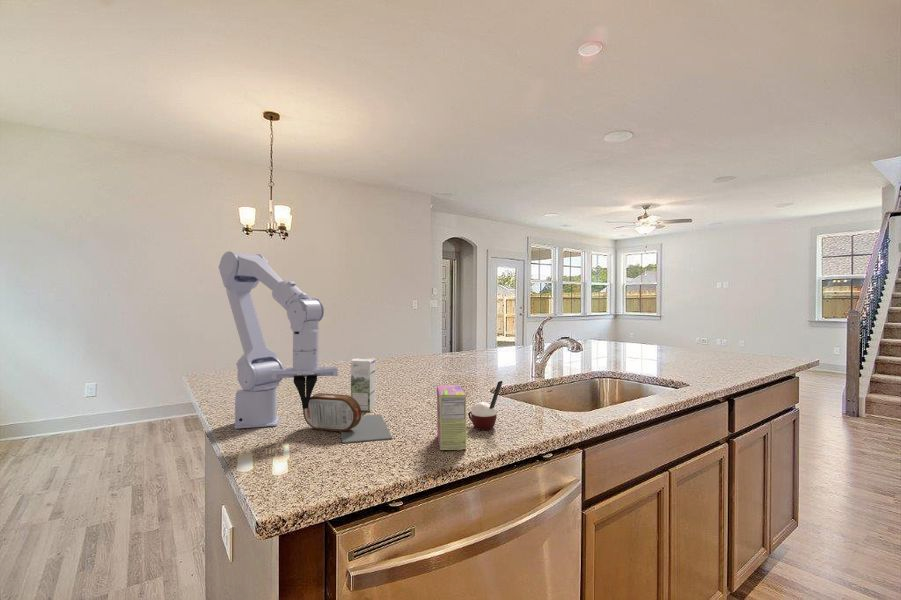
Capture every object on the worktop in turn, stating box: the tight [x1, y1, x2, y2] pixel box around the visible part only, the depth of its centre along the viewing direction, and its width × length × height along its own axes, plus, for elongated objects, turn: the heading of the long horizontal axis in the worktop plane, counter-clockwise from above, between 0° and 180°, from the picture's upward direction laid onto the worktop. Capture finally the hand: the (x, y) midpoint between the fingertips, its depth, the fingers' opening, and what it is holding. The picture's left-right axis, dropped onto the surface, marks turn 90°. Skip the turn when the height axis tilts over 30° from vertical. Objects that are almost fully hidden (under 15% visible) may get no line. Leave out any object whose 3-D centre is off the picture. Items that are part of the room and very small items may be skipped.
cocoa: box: [467, 380, 503, 431], centre depth 106 cm, size 10×6×12 cm, turn 29°
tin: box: [302, 392, 362, 432], centre depth 104 cm, size 15×3×8 cm, turn 71°
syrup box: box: [350, 357, 376, 412], centre depth 123 cm, size 6×6×14 cm
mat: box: [340, 414, 393, 444], centre depth 106 cm, size 11×20×1 cm, turn 17°
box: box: [436, 384, 467, 451], centre depth 95 cm, size 10×6×12 cm, turn 5°
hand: (305, 407), depth 102 cm, fingers closed
